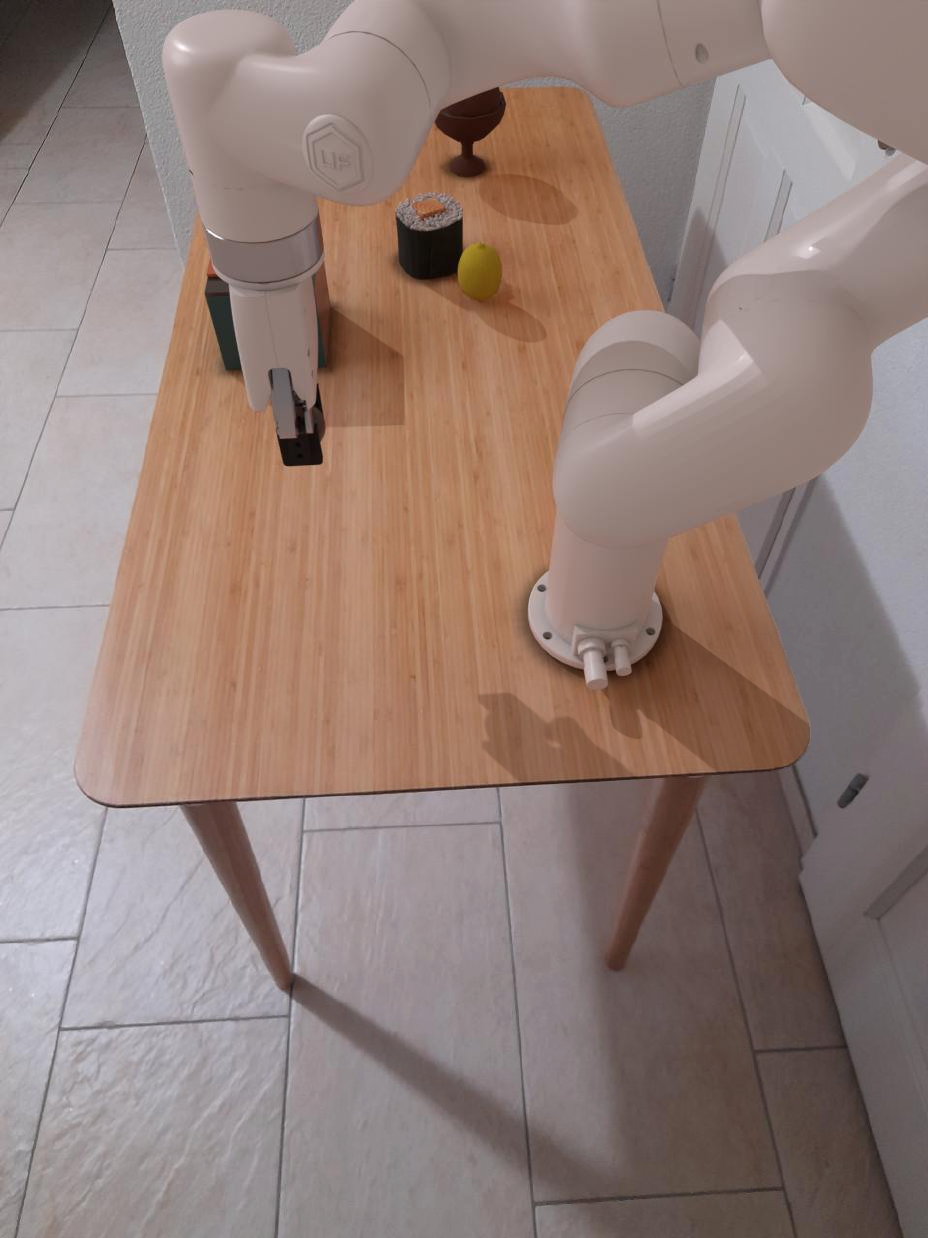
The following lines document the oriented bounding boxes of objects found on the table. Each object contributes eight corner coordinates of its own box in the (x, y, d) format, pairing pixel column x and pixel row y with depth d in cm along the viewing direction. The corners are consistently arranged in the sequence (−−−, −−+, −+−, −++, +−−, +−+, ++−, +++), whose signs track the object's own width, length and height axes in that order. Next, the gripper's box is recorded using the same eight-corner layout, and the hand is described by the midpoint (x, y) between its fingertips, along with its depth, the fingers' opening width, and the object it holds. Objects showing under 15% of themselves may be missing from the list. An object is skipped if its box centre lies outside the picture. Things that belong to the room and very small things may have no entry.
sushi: (473, 268, 117) (473, 210, 110) (416, 286, 114) (413, 228, 108) (444, 238, 121) (443, 180, 114) (389, 254, 118) (385, 197, 112)
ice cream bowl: (418, 158, 133) (413, 48, 121) (485, 142, 136) (487, 33, 123) (447, 192, 127) (445, 81, 115) (516, 175, 130) (521, 64, 118)
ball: (328, 460, 72) (321, 423, 69) (278, 462, 72) (270, 425, 68) (328, 426, 74) (322, 389, 71) (281, 429, 74) (272, 391, 71)
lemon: (450, 306, 112) (449, 248, 105) (470, 283, 115) (470, 225, 108) (489, 319, 110) (490, 260, 104) (508, 295, 113) (511, 237, 107)
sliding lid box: (326, 366, 105) (314, 289, 96) (225, 370, 105) (204, 292, 96) (330, 305, 112) (319, 228, 103) (236, 308, 112) (216, 231, 103)
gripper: (218, 172, 63) (264, 378, 78) (194, 318, 53) (252, 521, 68) (324, 169, 63) (349, 374, 78) (319, 312, 53) (350, 516, 68)
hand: (304, 441), depth 73 cm, fingers closed on ball, 3 cm apart
